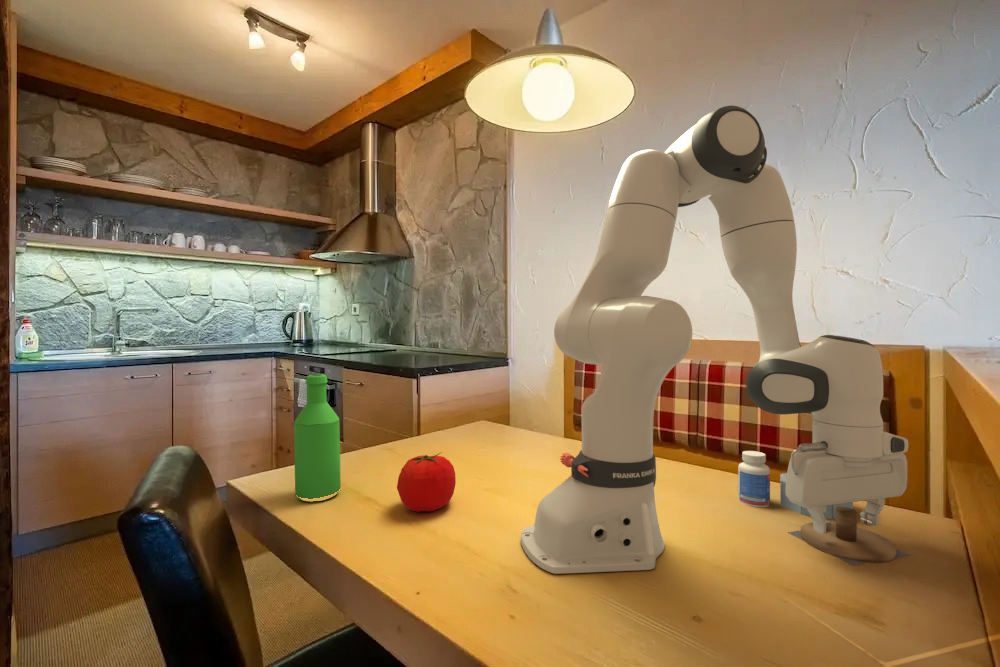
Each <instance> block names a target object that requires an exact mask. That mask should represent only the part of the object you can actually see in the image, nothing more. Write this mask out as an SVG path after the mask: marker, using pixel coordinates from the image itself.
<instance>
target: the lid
mask: <svg viewBox="0 0 1000 667" xmlns="http://www.w3.org/2000/svg"><path fill="white" fill-rule="evenodd" d="M857 519H858V511H857V510H855V509H854V508H853V509H851V508H847V507H837V508H836V519H835V522H831V527H830V528H831V532H830V533H824V534H821V533H819V532H817V531H815V530H814V529H813V521H812V522H807V523H804V524H803V525H801V527H800V530H801V537H802V539H803V540H804V542H805V543H806V544H808V545H809V546H811V547H813V548H815V549H817V550H818V551H821V552H824V553H826V554H828V555H831V556H833V555H835V556H838V557H842V558H846V559H850V560H856V561H863V562H872V563H875V564H876V563H878V564H879V563H888V562H891V561H893V560H895V559H896V558H895V557H896V549H897V547H896V546H895V544H894V543H893V542H892V541H890V540H889V539H887V538H886V537H884V536H883V535H881V534H880V535H879V534H878V533H876V532H873V531H871V530H867V529H864V528H862V527H858V526H857V525H858V524H857V522H858V520H857ZM803 540H802V541H803ZM835 556H834V557H835Z"/></svg>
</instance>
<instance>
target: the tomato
mask: <svg viewBox="0 0 1000 667" xmlns="http://www.w3.org/2000/svg"><path fill="white" fill-rule="evenodd" d="M442 453H443V452H442V451H441V452H439V453H436V454H434V455H431V456H430V455H428V454H425V455H417V456H415V457H412V458H409V459H408V460H407V461H406V462H405V464H404V465H403V466H402V468H401V469H400V473H399V475H398V479H397V485H396V490H397V492H398V496H399V498H400V501H401V503H403V505H404V506H405V507H406V508H407V509H409V510H411V511H412V512H415V511H416V513H421V512H420V511H427V512H434V511H436V510H438V509H441V508H443V507H444V506H446V505H447V504H448V503H449V502H450V500H452V497H453V495H454V493H455V490H456V471H455V468H454V465H453V464H452V463H451V461H450V460H449V459H447V458H446V457H445V456H442V455H441V454H442Z"/></svg>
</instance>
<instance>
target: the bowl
mask: <svg viewBox="0 0 1000 667" xmlns="http://www.w3.org/2000/svg"><path fill="white" fill-rule="evenodd" d="M779 475H780V478H779V481H780V482H779V487H780V488H779V489H780V491H779V494H780V495H779V498H780V502H779V503H780V505H779V506H781V507H783V508H786V509H789V510H790V511H793V512H795V513H797V514H799V515H803V516H807V517H811V515H810V513H809V511H808V510H807V508H805V507H802V506H800V505H797V504H795V503H793V502H791V501H790V500H789V499H788V497H787V496H786V479H787V472H785V473H780V474H779ZM837 507H847V508H851V509H854V502H851V503H843V504H836V505H828V506H826V512H823V514H824V516H825V519H826V520H831V521H832V520H836V508H837Z"/></svg>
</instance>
